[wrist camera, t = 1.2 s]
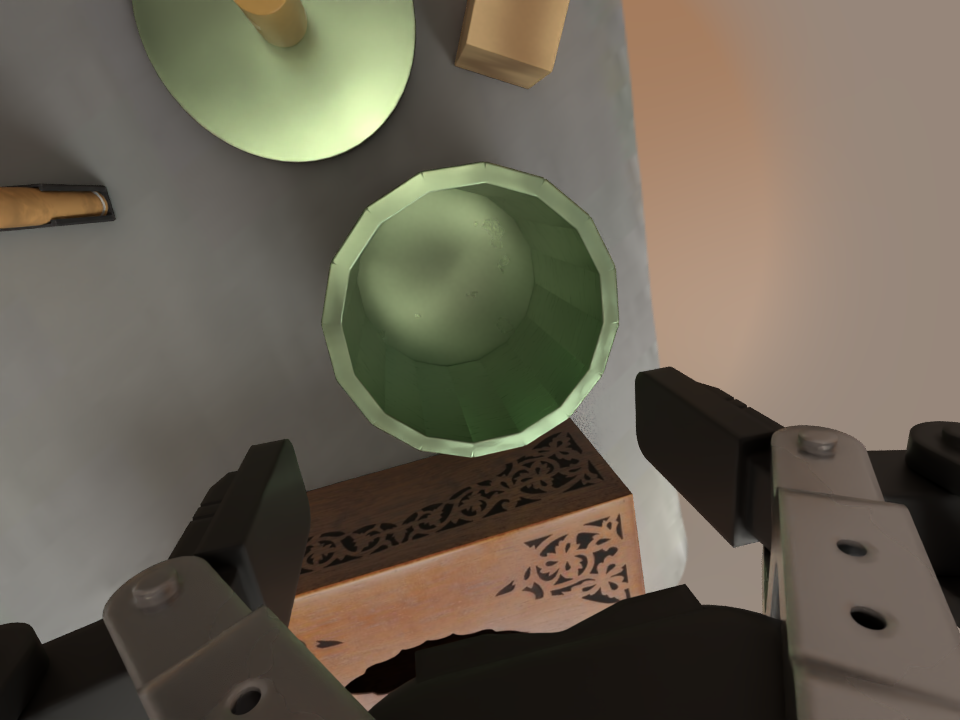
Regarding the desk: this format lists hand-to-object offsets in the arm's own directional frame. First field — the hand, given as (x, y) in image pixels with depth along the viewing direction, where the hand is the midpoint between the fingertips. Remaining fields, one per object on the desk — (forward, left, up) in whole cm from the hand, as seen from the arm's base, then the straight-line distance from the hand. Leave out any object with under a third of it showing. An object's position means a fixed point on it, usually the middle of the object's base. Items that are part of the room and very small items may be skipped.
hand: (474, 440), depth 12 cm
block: (-9, +12, -22) cm, 26 cm away
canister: (+1, +2, -22) cm, 22 cm away
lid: (-15, +2, -21) cm, 26 cm away
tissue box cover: (+17, -11, -22) cm, 30 cm away
